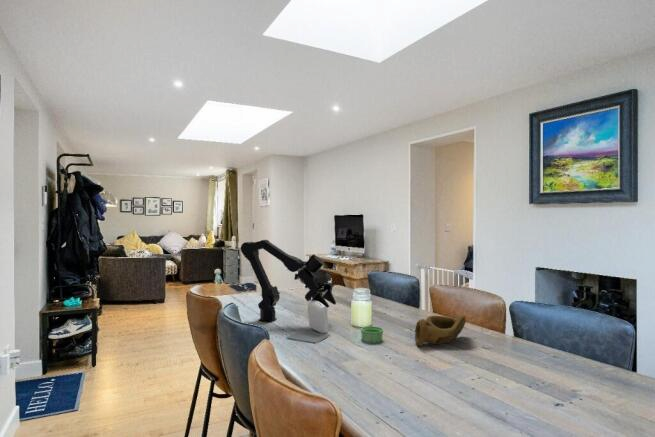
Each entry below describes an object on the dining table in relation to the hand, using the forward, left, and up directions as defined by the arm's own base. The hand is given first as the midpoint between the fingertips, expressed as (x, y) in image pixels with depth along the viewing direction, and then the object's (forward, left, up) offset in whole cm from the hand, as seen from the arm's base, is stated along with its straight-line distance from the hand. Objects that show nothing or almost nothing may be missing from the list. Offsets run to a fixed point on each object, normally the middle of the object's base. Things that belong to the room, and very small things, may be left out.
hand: (332, 305), depth 176 cm
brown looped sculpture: (+48, +2, -10) cm, 49 cm away
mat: (-2, -18, -10) cm, 20 cm away
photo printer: (-2, -8, -9) cm, 12 cm away
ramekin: (+22, -9, -10) cm, 26 cm away
